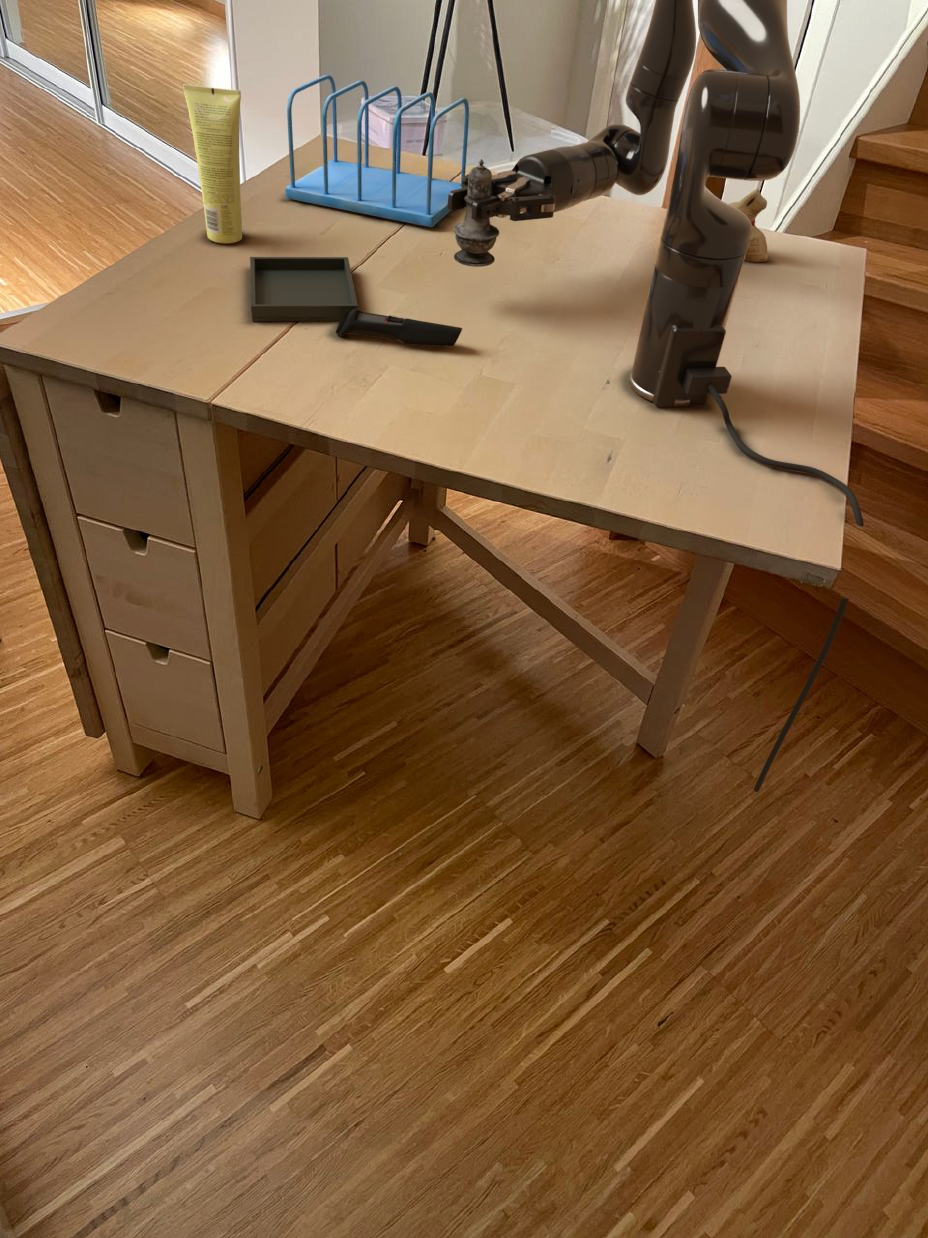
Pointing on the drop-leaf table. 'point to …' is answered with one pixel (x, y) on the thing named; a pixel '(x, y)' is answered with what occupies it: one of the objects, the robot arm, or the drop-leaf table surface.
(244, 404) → the drop-leaf table surface
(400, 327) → the electric trimmer
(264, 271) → the tray
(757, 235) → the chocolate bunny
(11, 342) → the drop-leaf table surface
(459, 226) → the salt shaker
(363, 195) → the file sorter
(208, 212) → the tube
